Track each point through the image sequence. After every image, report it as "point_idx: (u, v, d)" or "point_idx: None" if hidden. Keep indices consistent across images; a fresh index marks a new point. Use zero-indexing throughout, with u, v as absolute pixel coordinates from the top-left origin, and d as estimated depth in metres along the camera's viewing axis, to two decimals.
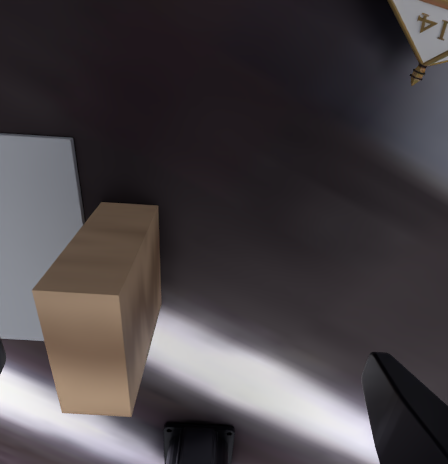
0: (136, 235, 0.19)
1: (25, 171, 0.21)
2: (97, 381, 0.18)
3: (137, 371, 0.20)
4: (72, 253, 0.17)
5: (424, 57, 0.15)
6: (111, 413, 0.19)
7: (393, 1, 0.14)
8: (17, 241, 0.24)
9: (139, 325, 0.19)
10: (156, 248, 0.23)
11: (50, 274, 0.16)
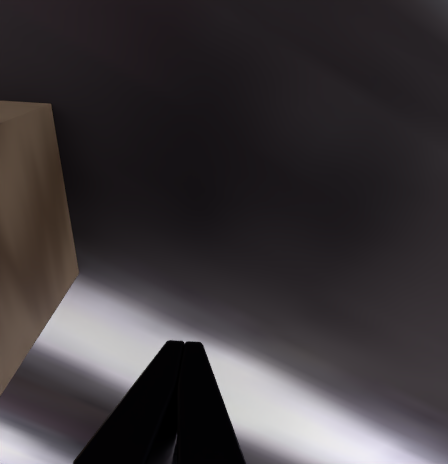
0: None
1: None
2: None
3: None
4: None
5: None
6: None
7: None
8: None
9: None
10: (50, 175, 0.14)
11: None
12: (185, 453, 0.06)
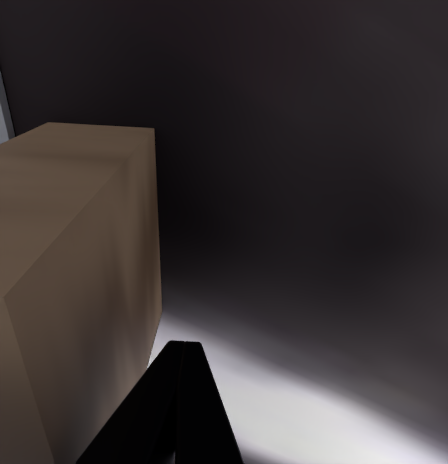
0: (102, 163, 0.09)
1: None
2: None
3: None
4: None
5: None
6: None
7: None
8: None
9: (110, 363, 0.09)
10: (151, 209, 0.13)
11: None
12: (183, 453, 0.06)
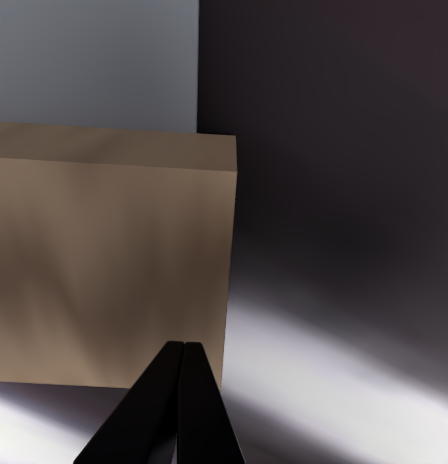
0: (77, 156, 0.09)
1: (99, 64, 0.11)
2: None
3: None
4: (42, 128, 0.11)
5: None
6: None
7: None
8: None
9: (14, 296, 0.11)
10: (193, 259, 0.10)
11: None
12: (185, 453, 0.06)
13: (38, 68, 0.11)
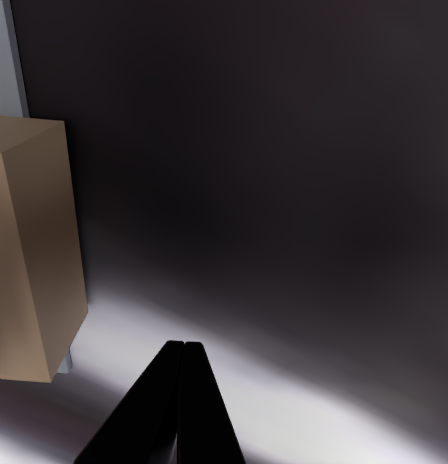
0: None
1: None
2: None
3: None
4: None
5: None
6: None
7: None
8: None
9: None
10: None
11: None
12: (185, 453, 0.06)
13: None
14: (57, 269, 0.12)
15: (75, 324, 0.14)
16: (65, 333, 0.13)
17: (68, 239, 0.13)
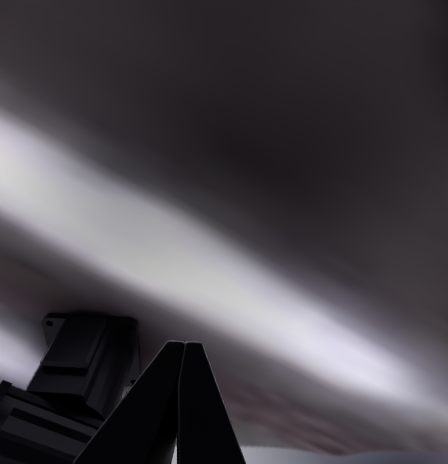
0: None
1: None
2: None
3: None
4: None
5: None
6: None
7: None
8: None
9: None
10: None
11: None
12: (185, 453, 0.06)
13: None
14: None
15: None
16: None
17: None
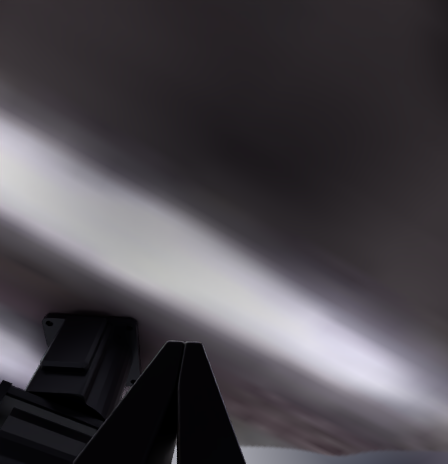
0: None
1: None
2: None
3: None
4: None
5: None
6: None
7: None
8: None
9: None
10: None
11: None
12: (185, 453, 0.06)
13: None
14: None
15: None
16: None
17: None
